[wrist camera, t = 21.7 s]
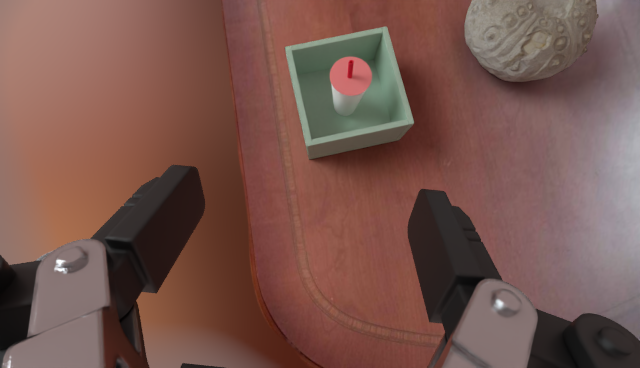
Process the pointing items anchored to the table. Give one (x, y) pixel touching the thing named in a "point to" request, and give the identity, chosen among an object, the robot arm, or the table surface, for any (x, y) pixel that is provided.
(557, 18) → the decorative shell
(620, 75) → the table surface
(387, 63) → the bin
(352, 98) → the cup
